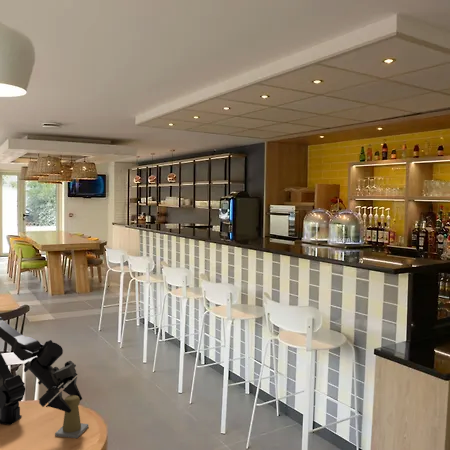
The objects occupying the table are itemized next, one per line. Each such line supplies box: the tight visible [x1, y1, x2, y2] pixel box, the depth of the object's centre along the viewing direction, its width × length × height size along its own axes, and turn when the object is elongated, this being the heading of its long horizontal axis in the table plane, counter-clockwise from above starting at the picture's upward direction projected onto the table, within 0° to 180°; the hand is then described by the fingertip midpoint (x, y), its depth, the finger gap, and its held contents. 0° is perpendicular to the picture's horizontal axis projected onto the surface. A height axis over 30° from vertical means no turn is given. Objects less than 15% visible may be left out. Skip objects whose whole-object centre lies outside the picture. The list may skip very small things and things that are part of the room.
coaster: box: [54, 422, 89, 439], centre depth 156 cm, size 8×8×1 cm
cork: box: [62, 395, 82, 432], centre depth 156 cm, size 6×6×11 cm
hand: (76, 405), depth 156 cm, fingers open, 9 cm apart
